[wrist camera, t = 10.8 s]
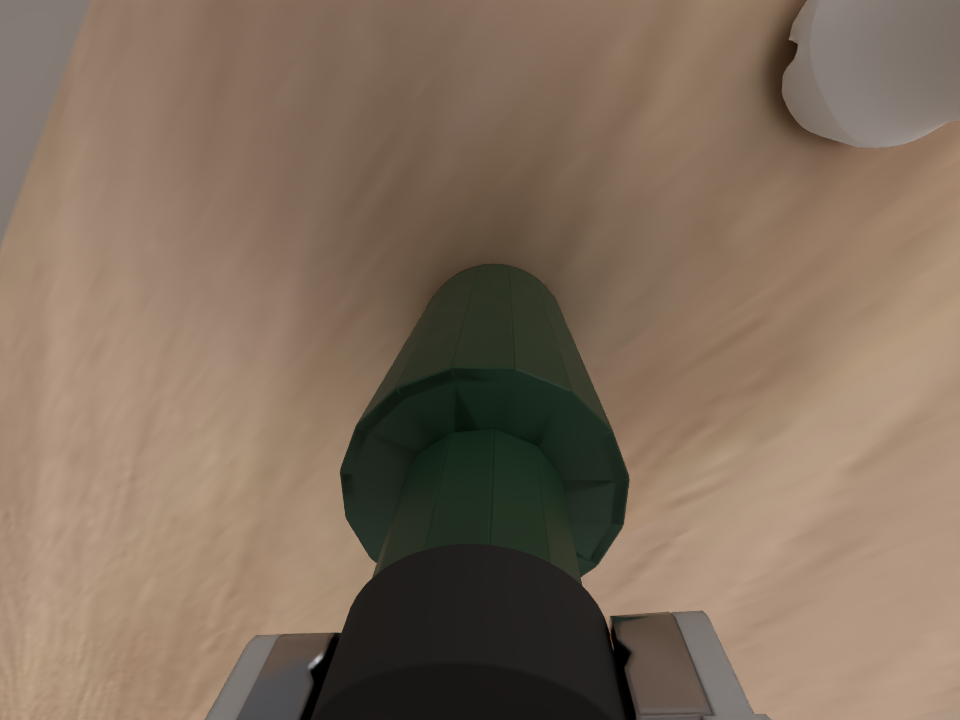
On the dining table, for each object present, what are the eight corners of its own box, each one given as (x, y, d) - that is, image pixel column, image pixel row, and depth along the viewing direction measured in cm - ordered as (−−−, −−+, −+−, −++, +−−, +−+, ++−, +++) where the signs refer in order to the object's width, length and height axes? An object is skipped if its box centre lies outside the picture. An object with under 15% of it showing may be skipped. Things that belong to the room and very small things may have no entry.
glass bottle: (406, 365, 26) (230, 706, 9) (454, 241, 24) (333, 396, 7) (527, 413, 27) (568, 811, 10) (586, 296, 24) (774, 565, 7)
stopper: (366, 551, 12) (265, 824, 7) (428, 402, 11) (358, 613, 5) (530, 609, 13) (549, 905, 7) (613, 474, 11) (710, 733, 6)
